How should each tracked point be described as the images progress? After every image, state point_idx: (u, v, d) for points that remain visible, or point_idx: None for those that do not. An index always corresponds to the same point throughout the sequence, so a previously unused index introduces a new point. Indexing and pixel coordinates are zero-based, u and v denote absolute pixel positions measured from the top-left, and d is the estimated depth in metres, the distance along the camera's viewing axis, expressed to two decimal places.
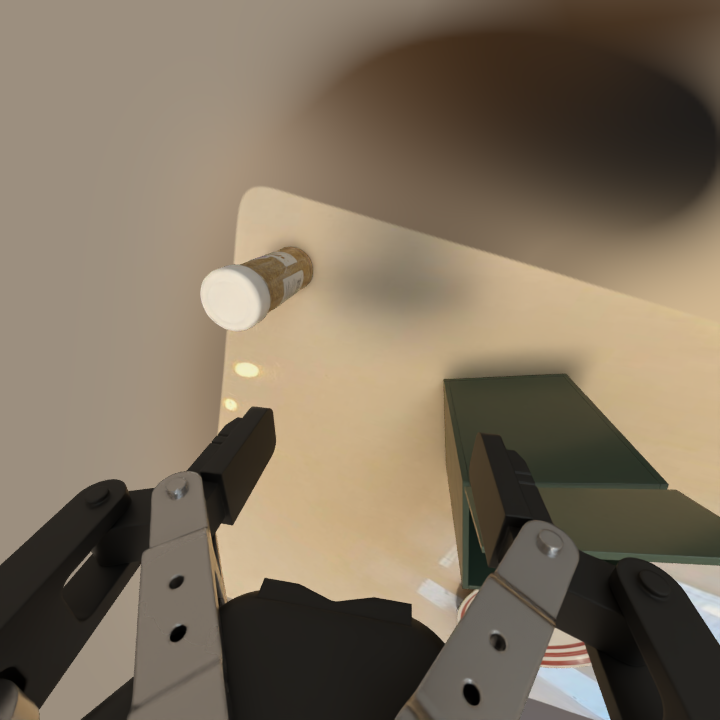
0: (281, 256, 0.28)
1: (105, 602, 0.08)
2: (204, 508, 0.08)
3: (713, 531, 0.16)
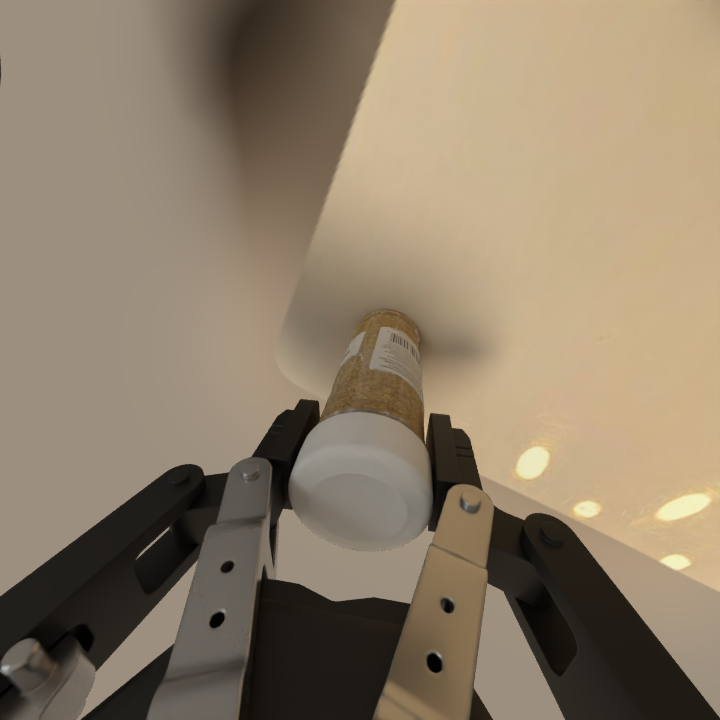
0: (346, 354, 0.16)
1: (169, 580, 0.08)
2: (268, 498, 0.08)
3: None
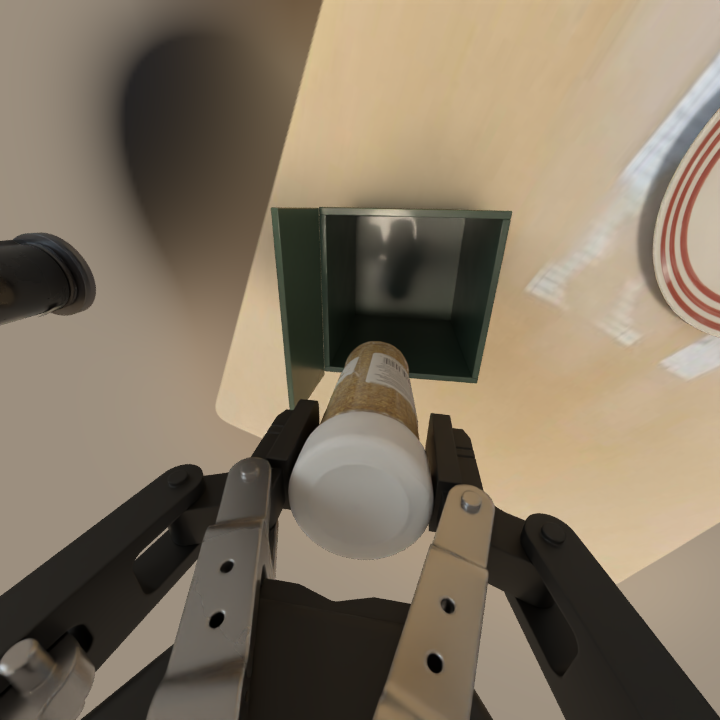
0: (340, 376, 0.17)
1: (169, 580, 0.08)
2: (267, 498, 0.08)
3: None
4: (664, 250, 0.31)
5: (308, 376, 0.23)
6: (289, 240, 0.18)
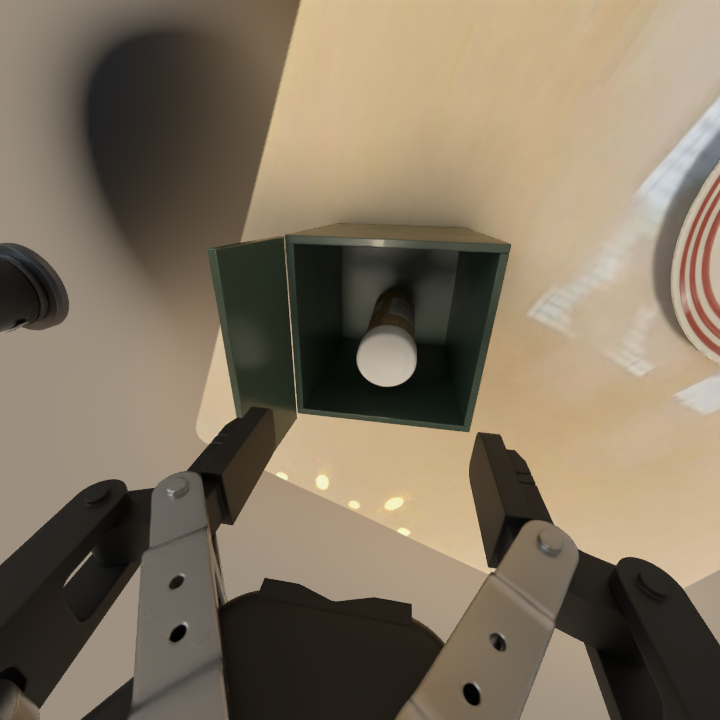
0: (373, 311, 0.30)
1: (105, 602, 0.08)
2: (204, 508, 0.08)
3: None
4: (684, 277, 0.28)
5: None
6: (237, 284, 0.14)
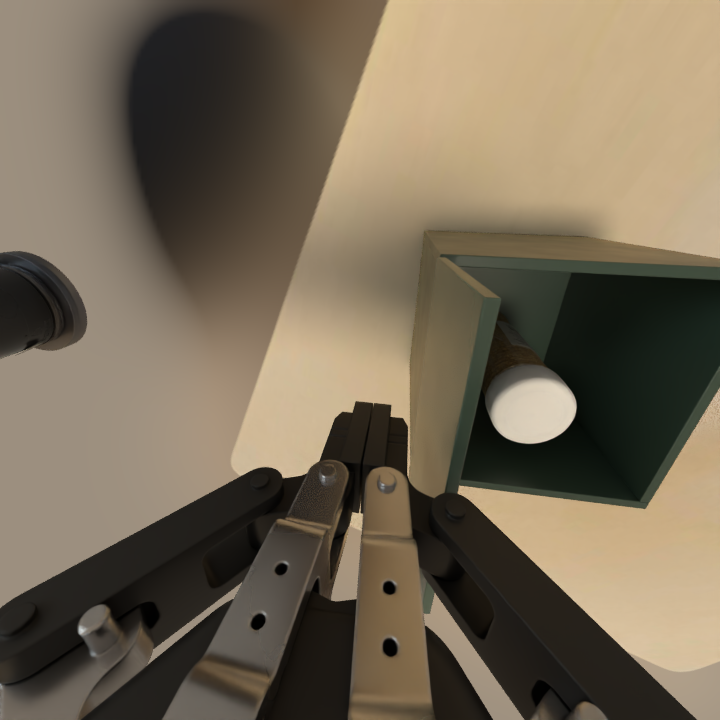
0: None
1: (234, 578, 0.08)
2: (337, 508, 0.08)
3: (455, 324, 0.09)
4: None
5: None
6: None
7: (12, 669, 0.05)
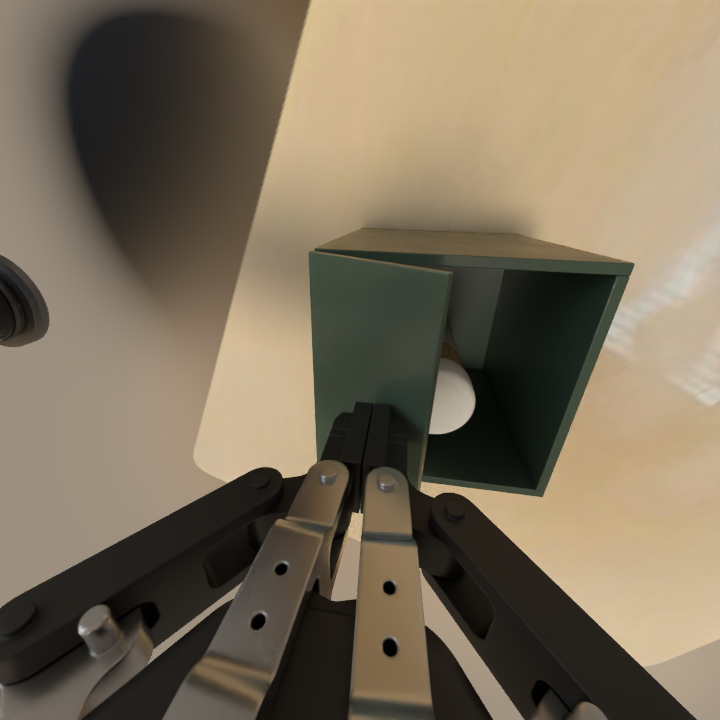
0: None
1: (234, 579, 0.08)
2: (337, 508, 0.08)
3: (391, 303, 0.11)
4: None
5: None
6: None
7: (12, 669, 0.05)
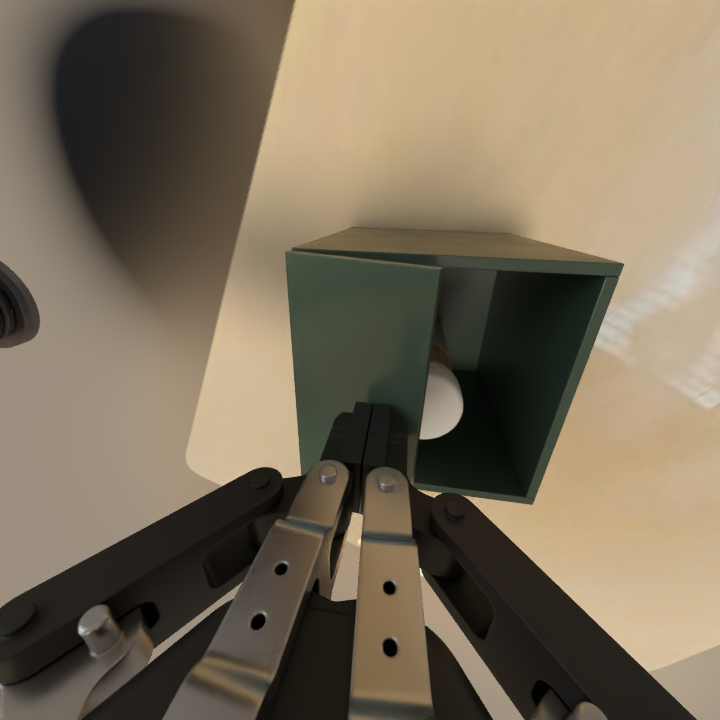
0: None
1: (234, 579, 0.08)
2: (337, 508, 0.08)
3: (380, 301, 0.11)
4: None
5: None
6: None
7: (12, 669, 0.05)
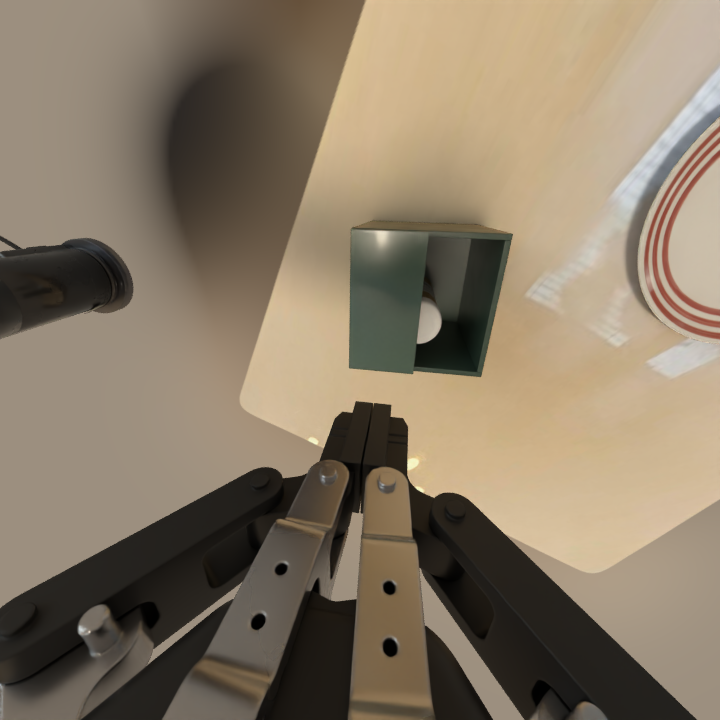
0: None
1: (234, 579, 0.08)
2: (337, 508, 0.08)
3: (402, 248, 0.26)
4: (647, 263, 0.36)
5: None
6: None
7: (12, 669, 0.05)
